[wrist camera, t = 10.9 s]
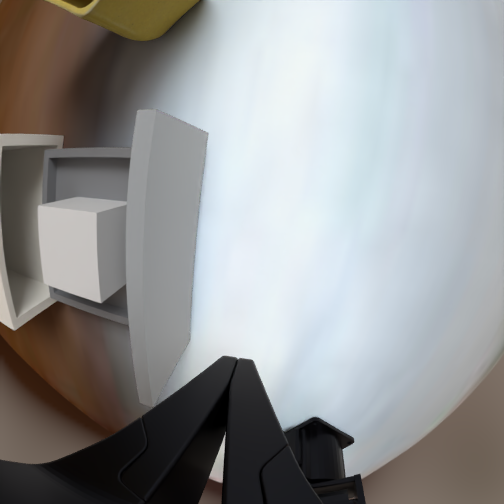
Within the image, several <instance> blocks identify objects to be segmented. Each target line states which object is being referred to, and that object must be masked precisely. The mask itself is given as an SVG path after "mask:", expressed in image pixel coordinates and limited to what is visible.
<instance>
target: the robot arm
mask: <svg viewBox="0 0 504 504" xmlns="http://www.w3.org/2000/svg"><path fill="white" fill-rule="evenodd" d="M225 432H226V437H225V453H224V469H223V487H222V504H366V503H365V497H364V491H363V486H362V481H361V475H360V474H357V475H354V476H352V477H347V478H346V477H345V468H344V459H343V451H342V449H344V448H346V447H348V446H349V445H351V444H353V443H354V438H353V437H351V436H349V435H347V434H346V433H344V432H342V431H340V430H339V429H337V428H335V427H333V426H332V425H330V424H328V423H327V422H325V421H323V420H322V419H320V418H317V417H315V418H312V419H310V420H308V421H307V422H305V423H303V424H301V425H299V426H298V427H296V428H294V429H292V430H290V431H288V432H286V433H283V430H282V428H281V426H280V423H279V421H278V419H277V417H276V414H275V412H274V410H273V407H272V405H271V402H270V400H269V398H268V395H267V393H266V391H265V388H264V386H263V383H262V381H261V378H260V376H259V374H258V371H257V369H256V366H255V364H254V361H253V360H251V359H244V358H239V359H237V358H236V357H230V356H222V357H221V358H220V359H218V360H217V361H216V362H215V363H213V364H212V365H211V366H209V367H208V368H207V369H206V370H204V371H203V372H202V373H200V374H199V375H198V376H196V377H195V378H194V379H192V380H191V381H190V382H188V383H187V384H186V385H184V386H183V387H182V388H180V389H179V390H178V391H176V392H175V393H174V394H172V395H171V396H170V397H168V398H167V399H165V400H164V401H163V402H161V403H160V404H158V405H157V406H156V407H154V408H153V409H151V410H150V411H149V412H147V413H146V414H144V415H143V416H142V418H138V419H137V420H135V421H134V422H132V423H131V424H129V425H128V426H126V427H124V428H123V429H121V430H120V431H118V432H116V433H115V434H113V435H111V436H109V437H108V438H105V439H103V440H101V441H99V442H97V443H95V444H93V445H91V446H89V447H87V448H84V449H82V450H80V451H77V452H75V453H73V454H71V455H68V456H65V457H63V458H61V459H58V460H55V461H52V462H48V463H42V464H25V463H18V462H10V461H5V460H0V504H198V503H199V500H200V498H201V495H202V493H203V490H204V488H205V485H206V483H207V480H208V478H209V475H210V473H211V470H212V467H213V465H214V462H215V459H216V457H217V454H218V452H219V449H220V446H221V444H222V441H223V438H224V435H225ZM353 497H354V499H351V500H349V498H353Z"/></svg>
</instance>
